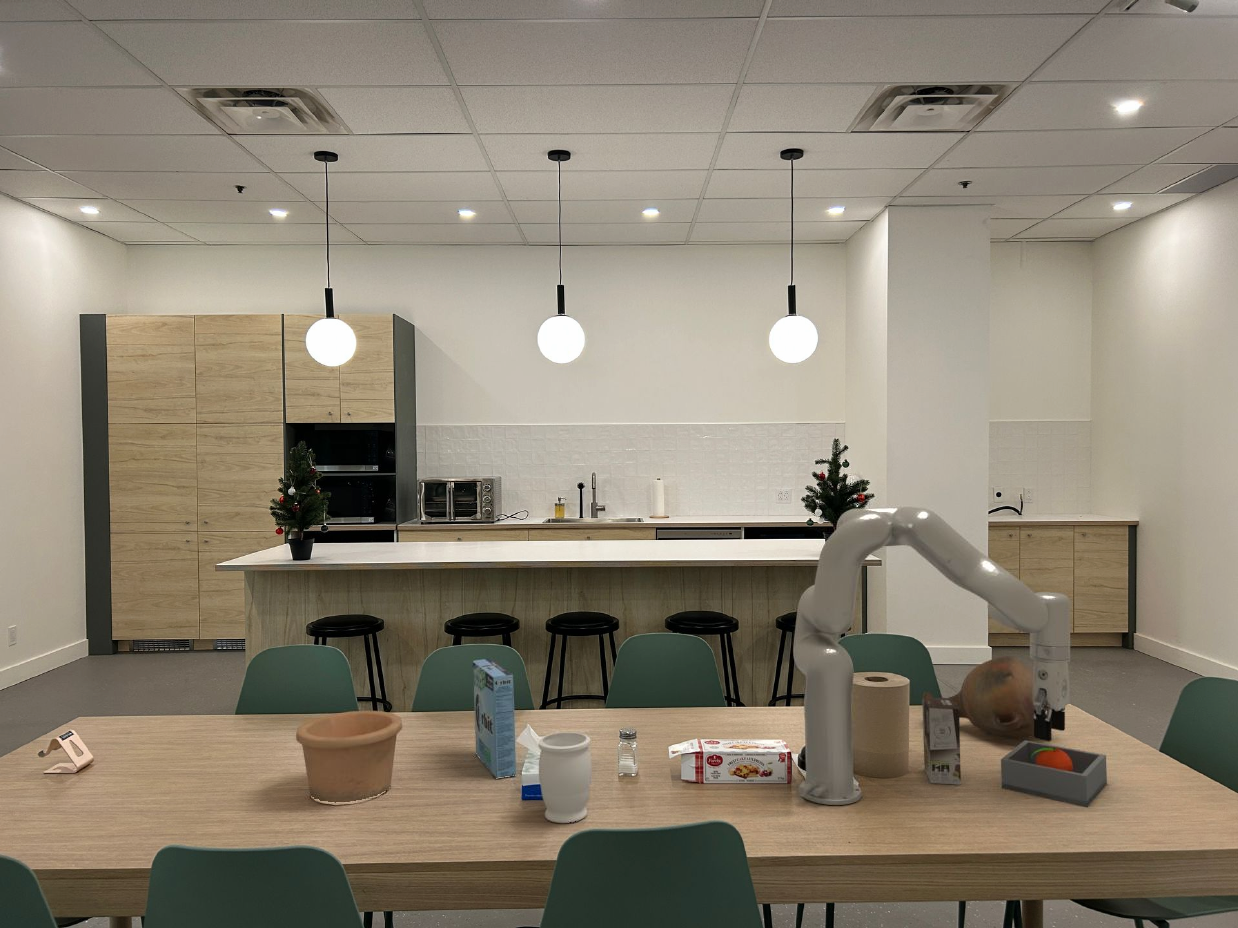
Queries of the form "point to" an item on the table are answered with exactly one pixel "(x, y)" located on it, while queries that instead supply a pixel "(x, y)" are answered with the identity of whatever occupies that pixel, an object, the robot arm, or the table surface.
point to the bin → (1054, 774)
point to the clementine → (1054, 759)
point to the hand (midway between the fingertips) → (1049, 734)
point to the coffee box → (941, 740)
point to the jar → (565, 775)
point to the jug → (998, 698)
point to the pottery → (349, 754)
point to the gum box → (494, 717)
